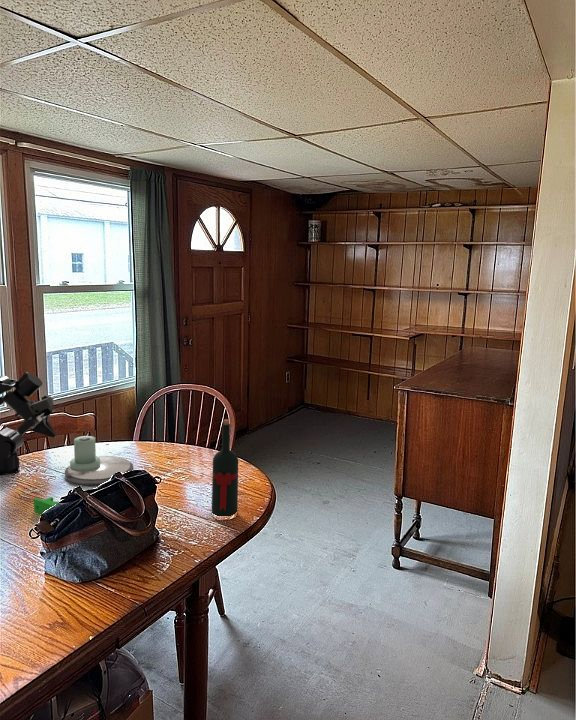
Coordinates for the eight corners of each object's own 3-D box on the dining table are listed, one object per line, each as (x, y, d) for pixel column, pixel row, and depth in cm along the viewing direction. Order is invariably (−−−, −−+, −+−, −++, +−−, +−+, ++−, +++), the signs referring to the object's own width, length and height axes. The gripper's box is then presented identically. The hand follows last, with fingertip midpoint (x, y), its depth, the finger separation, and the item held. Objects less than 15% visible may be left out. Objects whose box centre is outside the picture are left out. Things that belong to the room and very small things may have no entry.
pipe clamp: (71, 517, 151) (70, 503, 150) (60, 523, 148) (59, 508, 147) (45, 508, 156) (44, 494, 155) (34, 513, 153) (33, 498, 152)
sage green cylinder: (75, 473, 176) (74, 445, 174) (66, 464, 183) (65, 437, 182) (104, 467, 182) (103, 440, 180) (94, 458, 190) (94, 432, 188)
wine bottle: (208, 524, 150) (210, 426, 145) (213, 508, 160) (214, 416, 155) (235, 525, 150) (238, 427, 145) (238, 509, 160) (240, 416, 155)
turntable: (76, 491, 167) (76, 484, 167) (56, 469, 185) (56, 462, 184) (143, 476, 182) (143, 469, 181) (119, 456, 199) (119, 450, 199)
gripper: (25, 396, 168) (60, 429, 170) (48, 383, 186) (80, 413, 189) (1, 418, 169) (37, 451, 171) (27, 404, 187) (59, 433, 190)
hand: (55, 436), depth 180 cm, fingers closed
